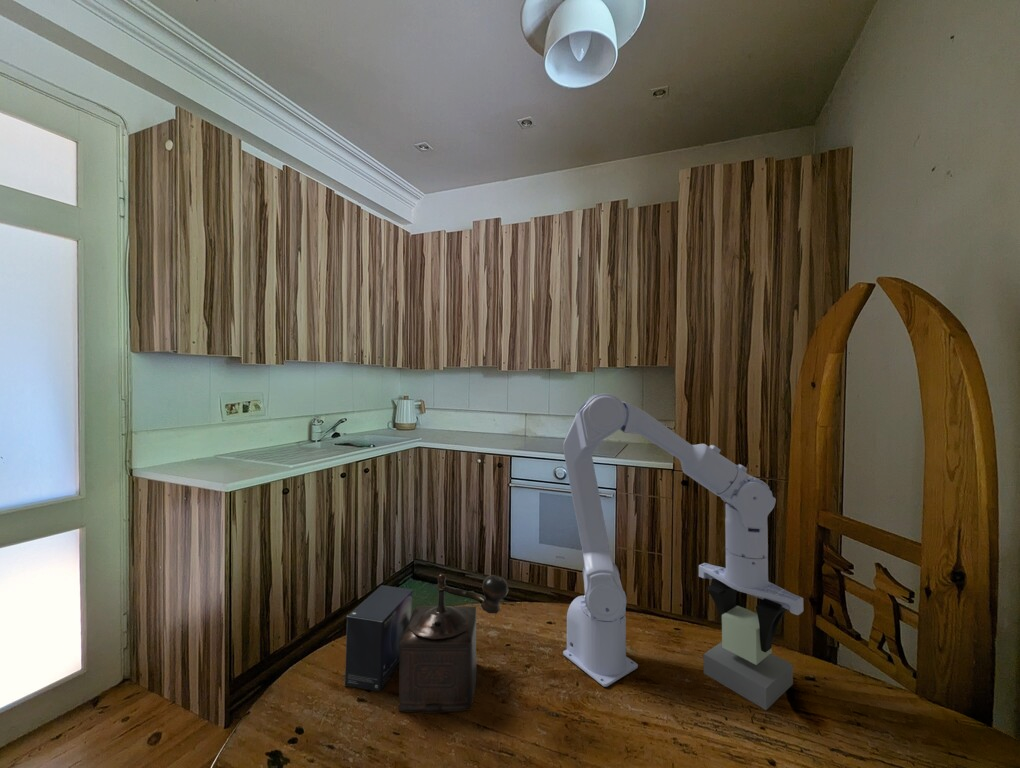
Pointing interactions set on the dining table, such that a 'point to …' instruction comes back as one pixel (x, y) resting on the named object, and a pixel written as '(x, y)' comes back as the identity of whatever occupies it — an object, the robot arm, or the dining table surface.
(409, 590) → the small box
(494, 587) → the manual coffee grinder
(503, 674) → the dining table surface
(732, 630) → the green cube
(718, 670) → the gray plinth
